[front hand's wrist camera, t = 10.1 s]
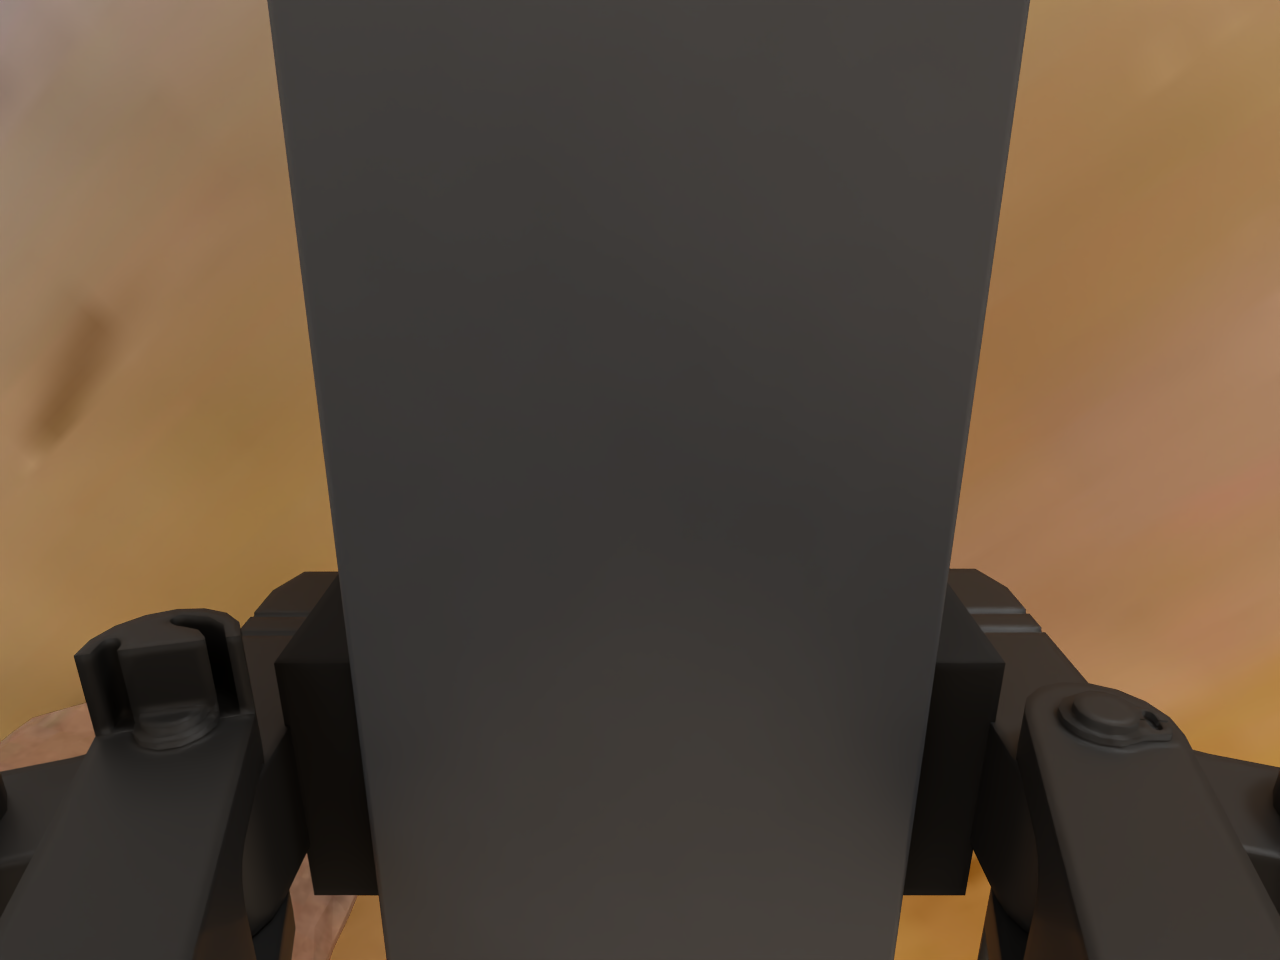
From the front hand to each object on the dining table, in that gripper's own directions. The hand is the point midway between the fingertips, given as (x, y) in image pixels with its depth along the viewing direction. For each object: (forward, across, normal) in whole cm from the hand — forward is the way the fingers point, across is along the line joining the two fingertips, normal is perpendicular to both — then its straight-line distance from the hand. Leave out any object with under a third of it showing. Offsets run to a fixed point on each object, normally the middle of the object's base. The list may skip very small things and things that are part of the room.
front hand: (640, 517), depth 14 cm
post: (+1, 0, -28) cm, 28 cm away
